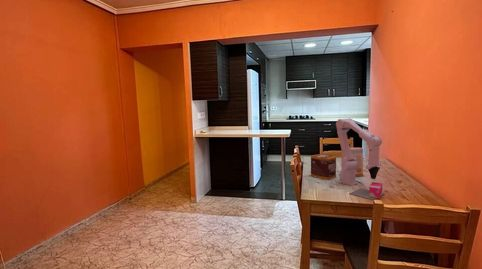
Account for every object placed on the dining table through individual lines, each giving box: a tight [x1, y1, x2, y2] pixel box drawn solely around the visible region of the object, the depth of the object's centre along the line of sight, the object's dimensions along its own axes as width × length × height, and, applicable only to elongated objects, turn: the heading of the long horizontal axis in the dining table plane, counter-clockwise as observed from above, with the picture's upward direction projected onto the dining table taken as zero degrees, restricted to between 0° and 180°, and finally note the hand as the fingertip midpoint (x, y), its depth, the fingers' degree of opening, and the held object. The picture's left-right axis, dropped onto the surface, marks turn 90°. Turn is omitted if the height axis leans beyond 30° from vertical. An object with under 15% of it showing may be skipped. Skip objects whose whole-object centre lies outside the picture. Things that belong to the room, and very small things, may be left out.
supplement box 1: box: [310, 153, 337, 181], centre depth 189 cm, size 10×15×16 cm
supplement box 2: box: [368, 181, 383, 199], centre depth 147 cm, size 6×6×12 cm
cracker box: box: [340, 147, 364, 177], centre depth 189 cm, size 14×6×21 cm, turn 84°
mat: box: [349, 188, 386, 201], centre depth 149 cm, size 14×14×1 cm
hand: (373, 178), depth 153 cm, fingers closed
